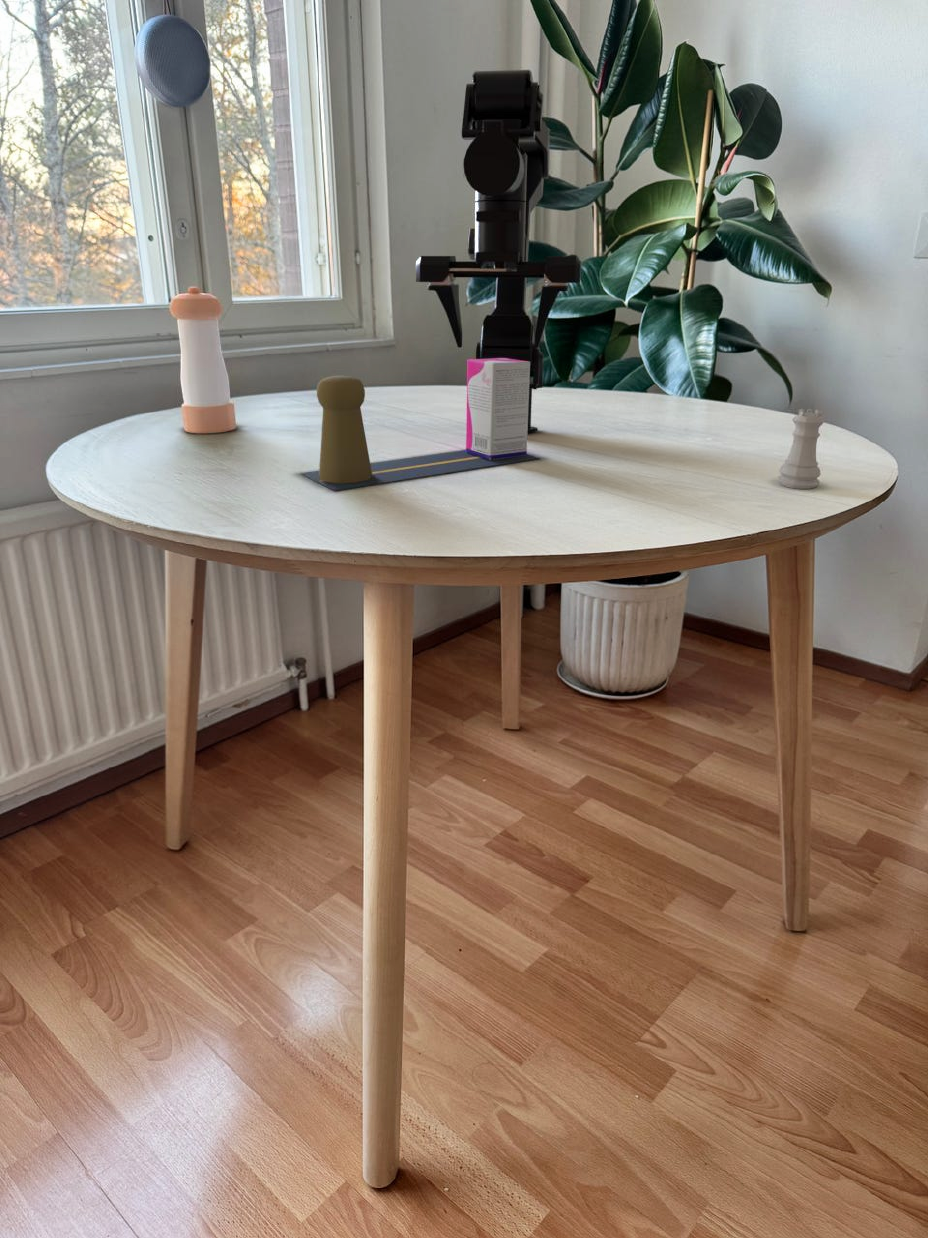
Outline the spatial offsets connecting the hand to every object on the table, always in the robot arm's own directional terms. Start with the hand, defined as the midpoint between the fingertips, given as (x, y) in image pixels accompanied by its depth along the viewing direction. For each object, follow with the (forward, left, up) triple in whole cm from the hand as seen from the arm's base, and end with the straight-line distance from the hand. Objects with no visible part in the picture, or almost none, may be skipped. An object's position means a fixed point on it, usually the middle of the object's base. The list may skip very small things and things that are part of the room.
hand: (497, 347), depth 100 cm
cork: (+21, 0, -13) cm, 25 cm away
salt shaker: (+24, -37, -13) cm, 46 cm away
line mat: (+10, 0, -13) cm, 17 cm away
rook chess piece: (-20, +30, -13) cm, 38 cm away
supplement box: (0, 0, -13) cm, 13 cm away
